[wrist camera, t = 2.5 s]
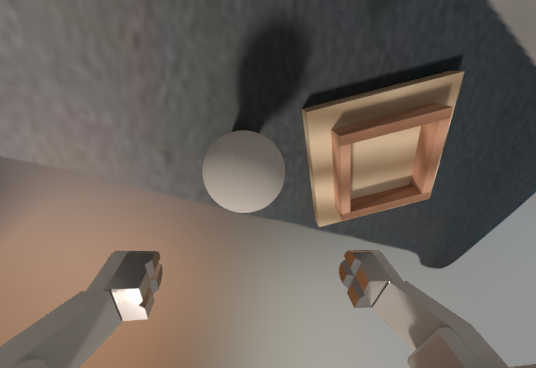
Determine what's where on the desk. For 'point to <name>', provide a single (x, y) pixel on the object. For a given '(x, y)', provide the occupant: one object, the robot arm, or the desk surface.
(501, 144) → the desk surface
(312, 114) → the docking base
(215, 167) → the light bulb
